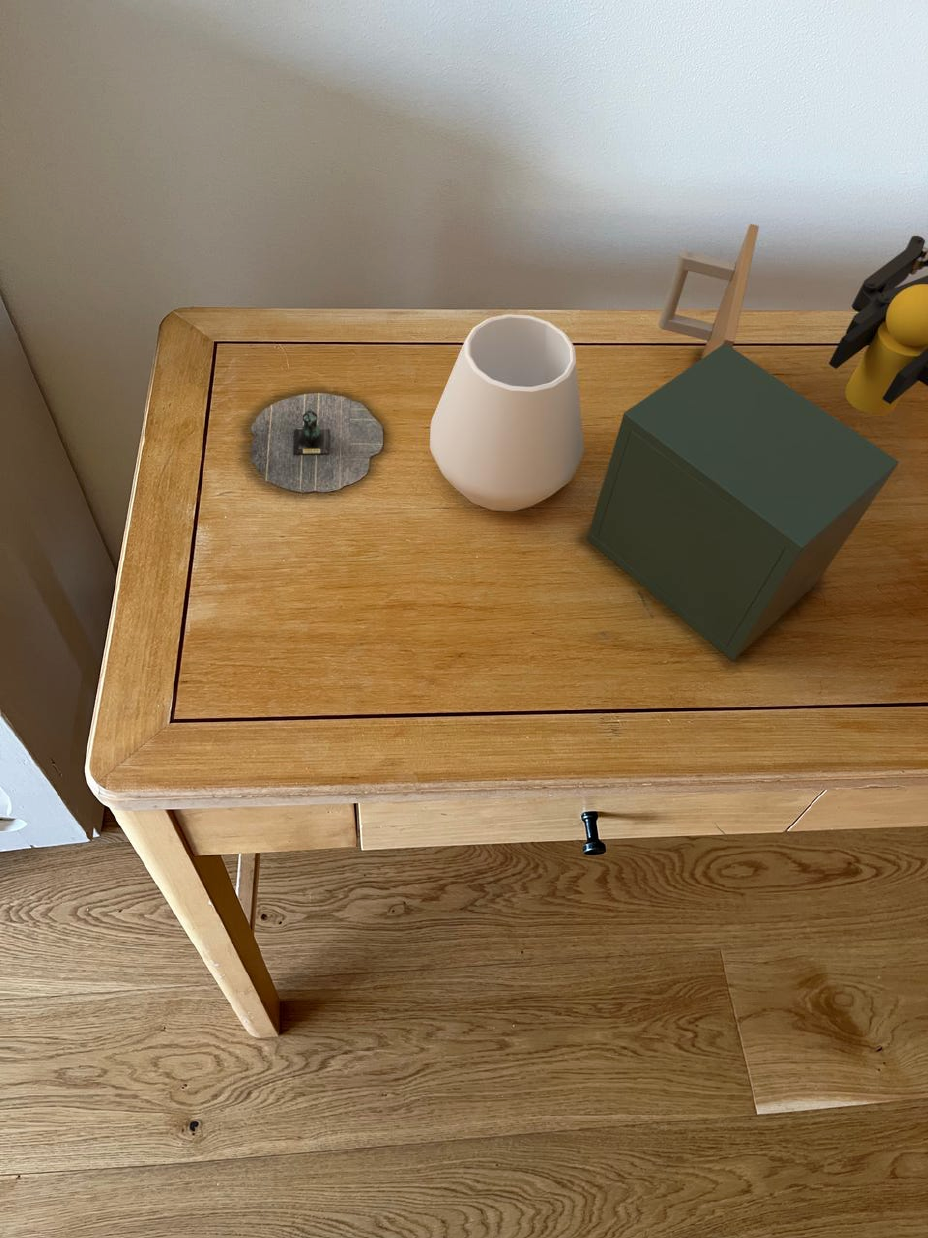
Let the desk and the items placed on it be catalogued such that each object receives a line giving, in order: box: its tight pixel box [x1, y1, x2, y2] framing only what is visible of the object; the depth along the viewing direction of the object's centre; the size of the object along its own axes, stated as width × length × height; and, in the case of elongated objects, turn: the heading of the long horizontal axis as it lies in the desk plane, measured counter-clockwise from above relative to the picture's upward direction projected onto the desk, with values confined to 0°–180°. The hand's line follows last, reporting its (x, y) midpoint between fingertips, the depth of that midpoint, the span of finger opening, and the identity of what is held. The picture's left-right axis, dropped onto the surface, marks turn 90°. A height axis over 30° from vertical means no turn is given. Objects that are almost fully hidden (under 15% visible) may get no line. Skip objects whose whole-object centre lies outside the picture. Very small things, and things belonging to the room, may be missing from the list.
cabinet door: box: [658, 223, 760, 360], centre depth 83 cm, size 6×16×15 cm, turn 163°
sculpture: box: [249, 392, 384, 494], centre depth 84 cm, size 12×9×8 cm
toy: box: [844, 284, 928, 417], centre depth 75 cm, size 5×5×11 cm
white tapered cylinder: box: [429, 313, 585, 512], centre depth 77 cm, size 13×13×14 cm
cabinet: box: [586, 343, 900, 662], centre depth 73 cm, size 12×16×15 cm
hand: (866, 370), depth 72 cm, fingers closed on toy, 4 cm apart
